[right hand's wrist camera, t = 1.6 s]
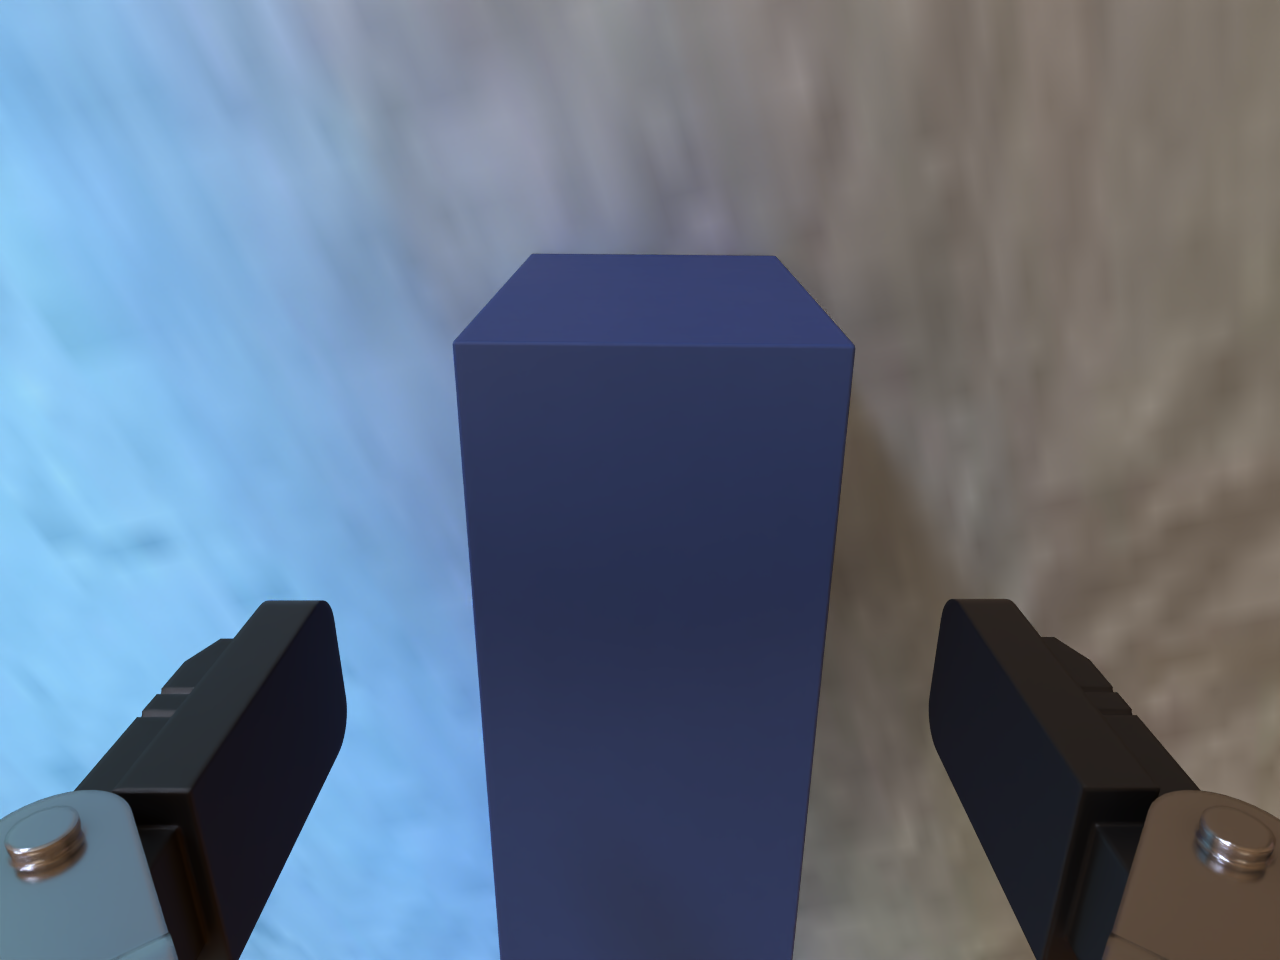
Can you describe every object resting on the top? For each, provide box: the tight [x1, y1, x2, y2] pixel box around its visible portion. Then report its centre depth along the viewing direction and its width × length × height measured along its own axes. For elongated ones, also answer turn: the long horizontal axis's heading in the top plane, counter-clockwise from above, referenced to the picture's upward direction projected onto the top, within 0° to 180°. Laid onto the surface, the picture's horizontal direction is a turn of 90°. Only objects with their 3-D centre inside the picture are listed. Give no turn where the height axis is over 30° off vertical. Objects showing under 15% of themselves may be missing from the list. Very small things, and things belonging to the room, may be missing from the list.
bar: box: [453, 254, 855, 960], centre depth 21 cm, size 27×6×8 cm, turn 0°
